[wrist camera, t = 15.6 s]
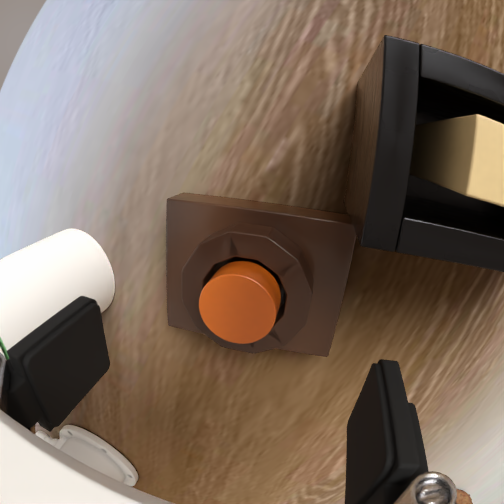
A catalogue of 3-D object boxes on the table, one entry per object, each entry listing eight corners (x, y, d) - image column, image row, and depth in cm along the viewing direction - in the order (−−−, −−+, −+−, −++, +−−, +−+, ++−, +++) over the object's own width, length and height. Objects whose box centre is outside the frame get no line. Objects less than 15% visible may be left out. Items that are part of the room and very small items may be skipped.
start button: (209, 318, 17) (197, 335, 15) (211, 254, 15) (199, 268, 14) (276, 331, 16) (270, 350, 14) (285, 266, 15) (281, 282, 13)
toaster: (343, 203, 17) (360, 247, 10) (357, 81, 14) (384, 33, 7) (528, 243, 15) (598, 292, 7) (545, 141, 12) (625, 152, 5)
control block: (181, 309, 21) (154, 340, 18) (182, 192, 19) (150, 204, 15) (328, 337, 20) (327, 377, 16) (354, 215, 17) (363, 234, 13)
